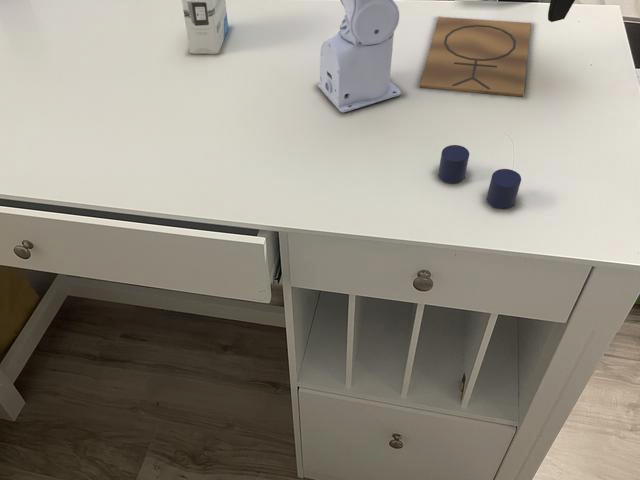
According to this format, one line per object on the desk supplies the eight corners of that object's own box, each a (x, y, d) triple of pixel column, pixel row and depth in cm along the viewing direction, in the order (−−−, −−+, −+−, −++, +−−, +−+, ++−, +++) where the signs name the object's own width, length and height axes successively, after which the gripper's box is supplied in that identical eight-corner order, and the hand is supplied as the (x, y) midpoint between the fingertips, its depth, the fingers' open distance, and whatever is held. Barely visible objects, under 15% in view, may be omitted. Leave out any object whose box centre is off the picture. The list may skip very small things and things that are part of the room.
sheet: (522, 96, 92) (523, 93, 91) (419, 87, 95) (419, 84, 95) (530, 25, 103) (531, 22, 103) (438, 19, 107) (438, 16, 107)
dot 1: (447, 186, 81) (451, 164, 79) (433, 171, 83) (436, 149, 81) (470, 178, 82) (474, 156, 79) (455, 164, 84) (459, 141, 81)
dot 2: (497, 212, 77) (503, 189, 75) (480, 196, 79) (486, 173, 77) (520, 203, 78) (527, 181, 75) (503, 188, 80) (509, 165, 77)
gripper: (640, -94, 74) (600, 23, 84) (560, -132, 83) (534, -22, 93) (584, -81, 73) (551, 36, 83) (510, -121, 82) (488, -11, 92)
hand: (538, 6), depth 88 cm, fingers open, 7 cm apart
